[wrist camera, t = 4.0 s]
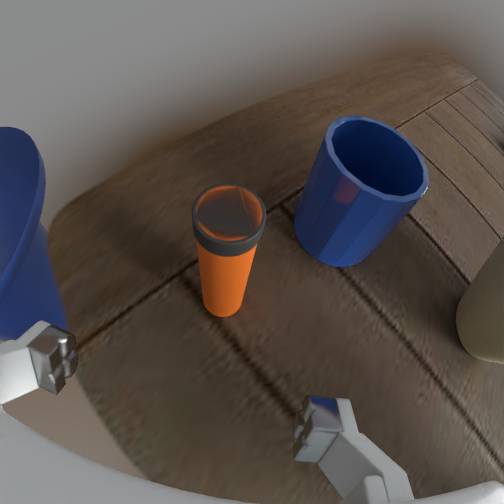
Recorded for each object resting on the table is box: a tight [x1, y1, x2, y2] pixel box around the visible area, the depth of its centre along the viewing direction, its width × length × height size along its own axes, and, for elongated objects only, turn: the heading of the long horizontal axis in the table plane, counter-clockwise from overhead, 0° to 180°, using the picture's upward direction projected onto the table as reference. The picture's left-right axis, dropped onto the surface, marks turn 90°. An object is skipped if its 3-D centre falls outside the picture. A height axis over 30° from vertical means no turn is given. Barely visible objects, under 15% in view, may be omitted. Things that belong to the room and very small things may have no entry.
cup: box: [293, 116, 428, 267], centre depth 24 cm, size 8×8×10 cm
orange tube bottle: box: [192, 183, 266, 317], centre depth 19 cm, size 3×3×12 cm
